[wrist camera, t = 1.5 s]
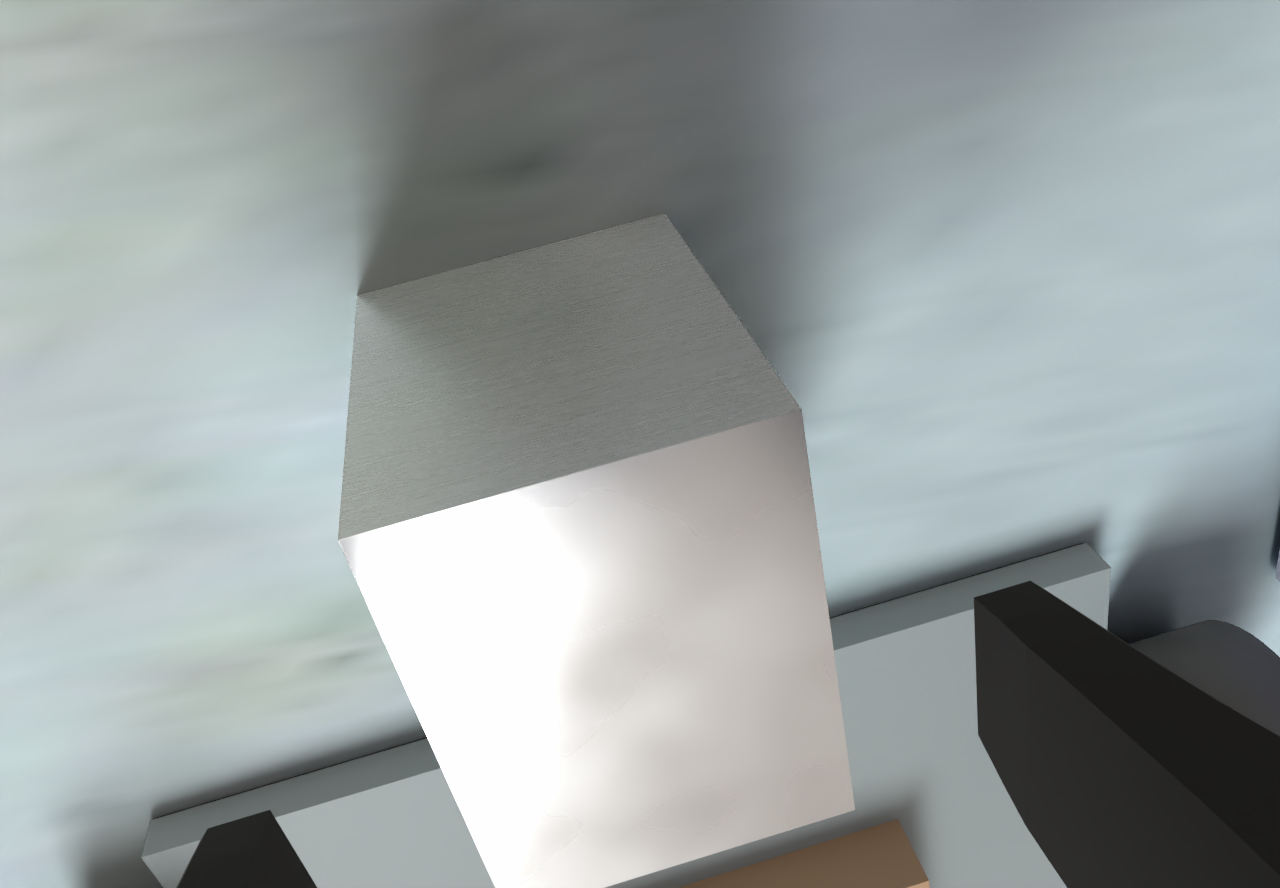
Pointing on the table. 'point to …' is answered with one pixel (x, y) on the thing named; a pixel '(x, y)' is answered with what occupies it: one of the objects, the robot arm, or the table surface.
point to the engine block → (594, 557)
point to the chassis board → (805, 856)
